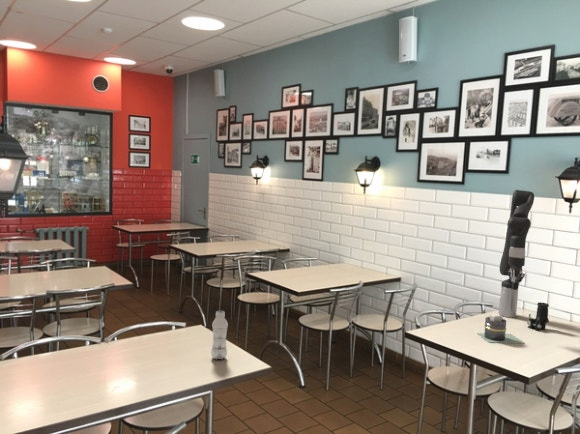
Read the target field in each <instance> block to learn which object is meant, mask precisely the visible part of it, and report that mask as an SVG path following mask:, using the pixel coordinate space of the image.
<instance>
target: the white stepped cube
mask: <svg viewBox="0 0 580 434" xmlns="http://www.w3.org/2000/svg"><path fill="white" fill-rule="evenodd" d="M489 317H490V320H491V321H496V322H502V319H503V316H501V315H499V313H491V314H489Z"/></svg>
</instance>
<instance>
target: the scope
mask: <svg viewBox="0 0 580 434" xmlns="http://www.w3.org/2000/svg"><path fill="white" fill-rule="evenodd" d="M548 316H549V303H546V302H537V308H536V315H535V318H533V317H531V313H529V314H528V319H527V320H528V321H527V322H526V325H527V328H528V329H530V330H531V329H532V330H535V332H536V331H537V332H539V331H542V330H543V331H545V330H546V325H547V324H548V323H550V319H549V317H548Z"/></svg>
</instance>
